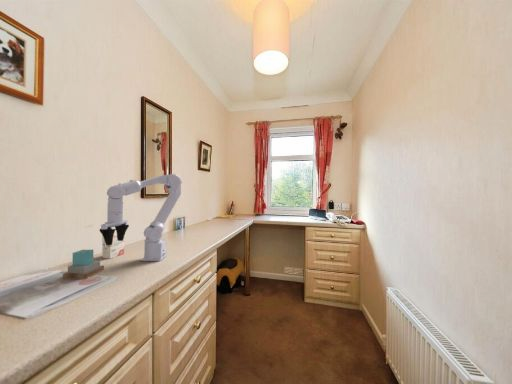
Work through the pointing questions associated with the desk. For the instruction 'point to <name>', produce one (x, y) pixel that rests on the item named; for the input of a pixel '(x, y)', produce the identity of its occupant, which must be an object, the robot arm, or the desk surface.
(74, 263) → the teal block
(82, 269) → the gray slab
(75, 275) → the walnut slab
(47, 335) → the desk surface
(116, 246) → the ink cartridge box
